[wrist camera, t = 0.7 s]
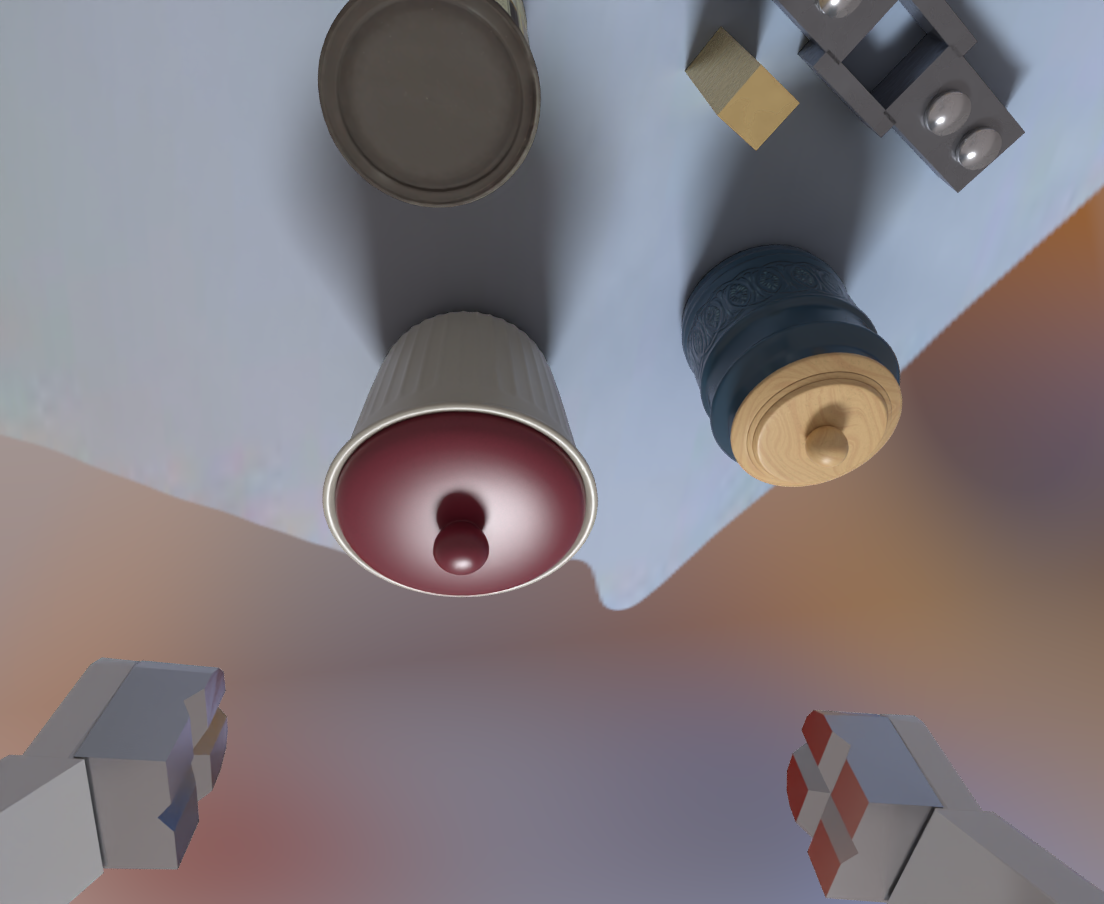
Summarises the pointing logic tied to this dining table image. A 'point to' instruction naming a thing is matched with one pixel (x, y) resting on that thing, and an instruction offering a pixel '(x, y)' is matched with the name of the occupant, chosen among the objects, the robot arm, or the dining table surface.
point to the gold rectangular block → (740, 89)
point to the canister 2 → (789, 367)
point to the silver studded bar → (912, 83)
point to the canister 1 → (461, 465)
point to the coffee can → (431, 95)
